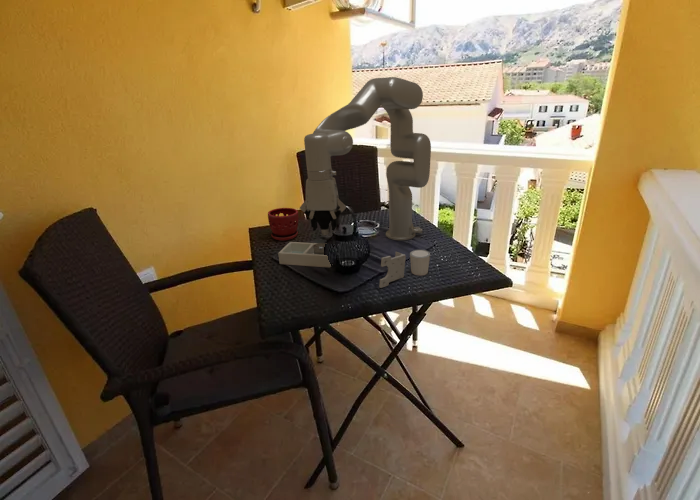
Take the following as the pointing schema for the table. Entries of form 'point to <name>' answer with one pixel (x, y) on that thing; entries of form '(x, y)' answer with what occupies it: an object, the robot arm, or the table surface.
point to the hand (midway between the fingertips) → (324, 228)
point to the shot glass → (419, 262)
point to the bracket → (393, 268)
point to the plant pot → (283, 223)
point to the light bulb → (323, 221)
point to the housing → (304, 254)
